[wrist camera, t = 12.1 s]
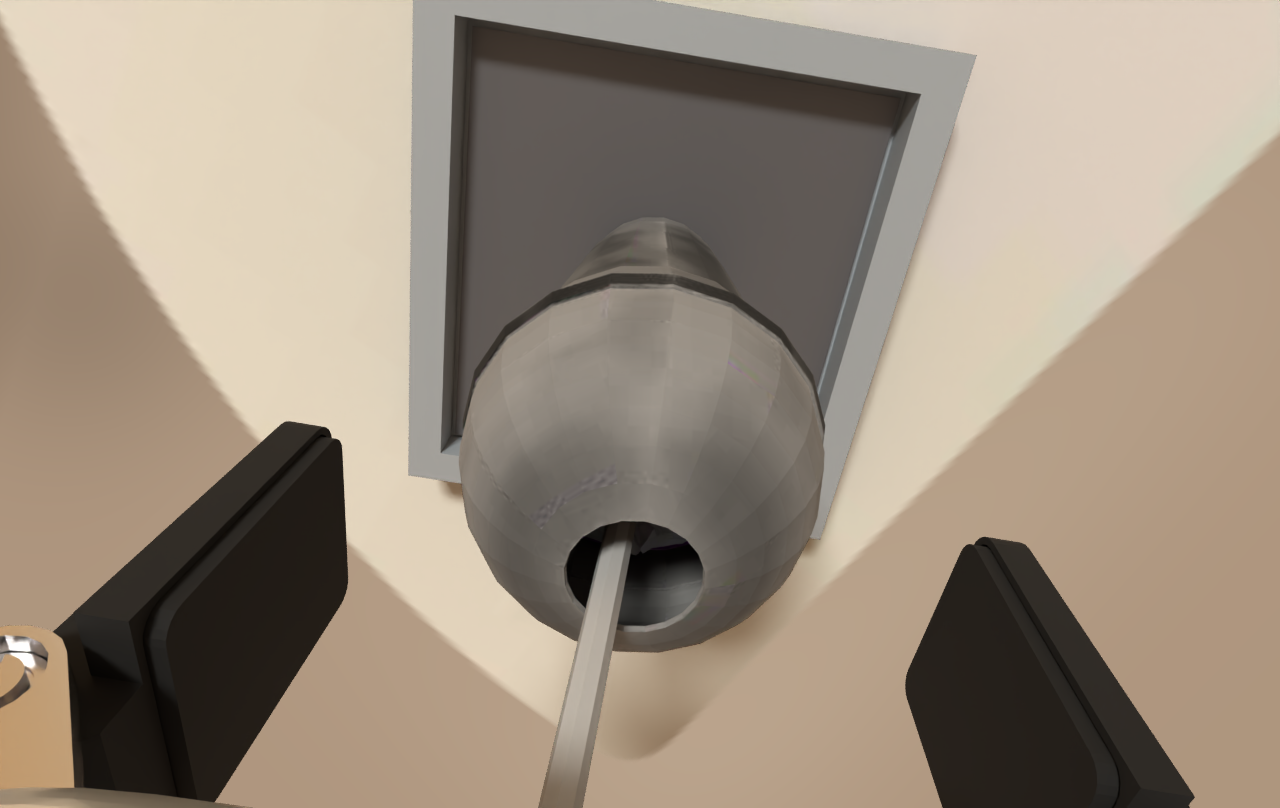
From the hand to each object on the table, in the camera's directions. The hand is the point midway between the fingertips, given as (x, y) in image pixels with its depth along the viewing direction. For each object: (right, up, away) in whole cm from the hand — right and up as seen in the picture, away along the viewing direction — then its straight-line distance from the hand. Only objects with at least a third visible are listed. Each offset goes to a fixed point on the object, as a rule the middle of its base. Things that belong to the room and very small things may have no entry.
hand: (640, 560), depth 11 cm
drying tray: (0, +7, +15) cm, 17 cm away
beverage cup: (0, +7, +14) cm, 16 cm away
